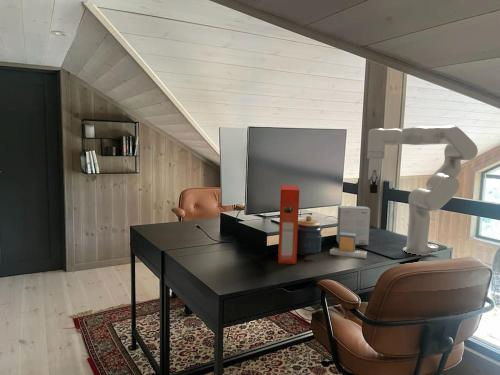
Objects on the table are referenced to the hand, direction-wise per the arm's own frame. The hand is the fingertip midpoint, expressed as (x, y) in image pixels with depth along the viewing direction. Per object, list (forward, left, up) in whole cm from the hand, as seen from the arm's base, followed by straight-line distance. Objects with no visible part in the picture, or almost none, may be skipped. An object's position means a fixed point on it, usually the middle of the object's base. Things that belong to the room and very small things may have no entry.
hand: (373, 191), depth 186 cm
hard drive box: (+9, -12, -30) cm, 34 cm away
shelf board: (+9, +9, -30) cm, 32 cm away
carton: (+10, +9, -28) cm, 32 cm away
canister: (+28, +11, -30) cm, 43 cm away
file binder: (+35, +24, -30) cm, 52 cm away
